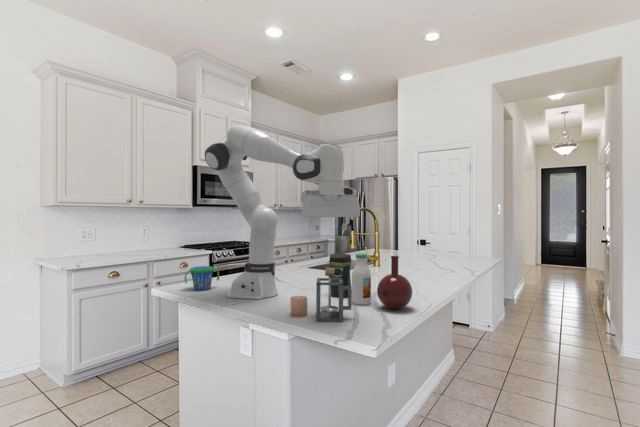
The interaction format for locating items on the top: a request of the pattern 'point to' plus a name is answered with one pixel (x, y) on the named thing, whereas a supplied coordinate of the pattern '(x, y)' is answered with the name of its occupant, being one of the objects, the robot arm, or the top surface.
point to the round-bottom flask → (394, 288)
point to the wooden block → (298, 306)
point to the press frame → (337, 315)
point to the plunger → (329, 308)
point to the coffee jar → (340, 272)
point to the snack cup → (202, 277)
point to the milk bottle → (361, 281)
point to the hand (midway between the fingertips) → (330, 230)
